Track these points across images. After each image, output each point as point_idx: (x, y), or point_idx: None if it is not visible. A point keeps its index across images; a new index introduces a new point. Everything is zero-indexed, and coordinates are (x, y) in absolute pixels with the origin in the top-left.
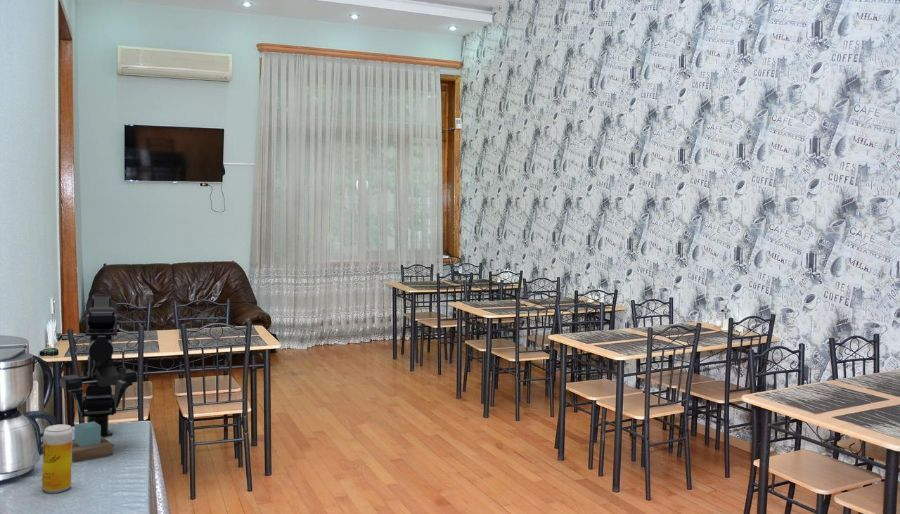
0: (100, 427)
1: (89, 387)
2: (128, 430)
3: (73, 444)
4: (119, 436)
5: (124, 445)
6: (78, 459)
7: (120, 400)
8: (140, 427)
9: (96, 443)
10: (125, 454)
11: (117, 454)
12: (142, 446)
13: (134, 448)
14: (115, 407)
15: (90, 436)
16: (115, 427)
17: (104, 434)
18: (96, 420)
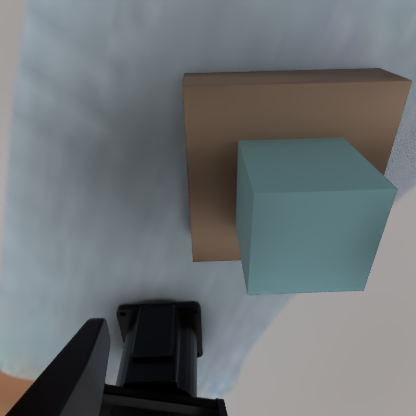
0: (253, 187)
1: None
2: (54, 326)
3: None
4: (96, 287)
5: (99, 183)
6: (362, 71)
7: (29, 388)
8: (9, 335)
9: (260, 141)
10: (124, 43)
11: (161, 70)
12: (20, 125)
13: (62, 117)
14: (108, 330)
15: (309, 159)
16: None
17: (148, 307)
18: (174, 367)
